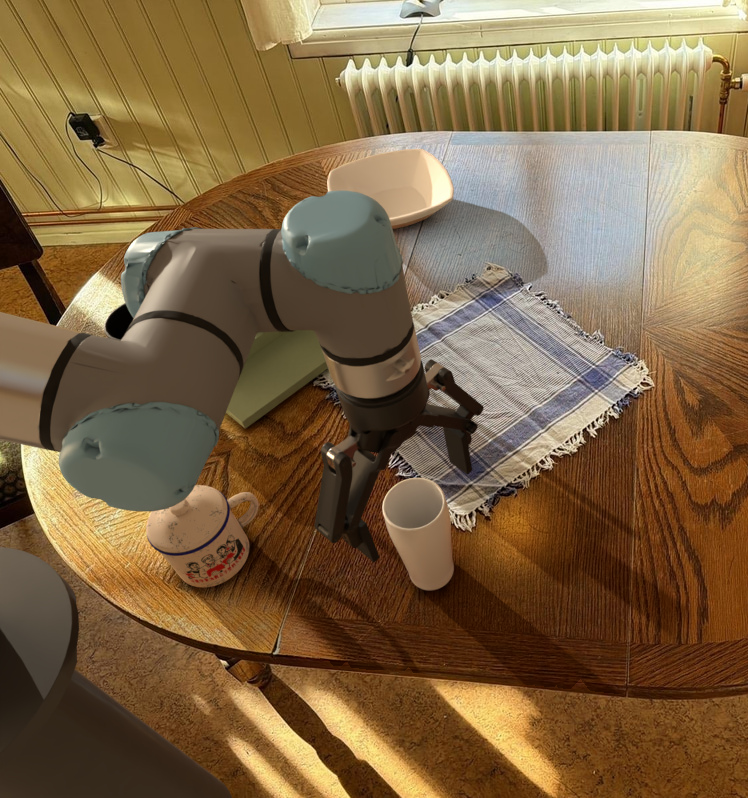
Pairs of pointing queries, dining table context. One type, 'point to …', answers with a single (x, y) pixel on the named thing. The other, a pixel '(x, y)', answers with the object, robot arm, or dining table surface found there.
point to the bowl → (398, 183)
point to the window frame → (275, 372)
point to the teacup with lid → (203, 535)
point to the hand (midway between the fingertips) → (416, 507)
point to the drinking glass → (421, 531)
